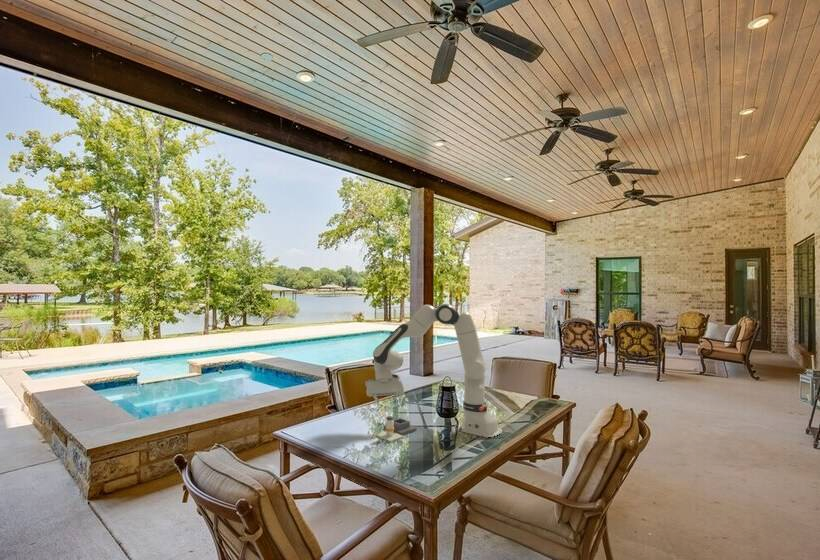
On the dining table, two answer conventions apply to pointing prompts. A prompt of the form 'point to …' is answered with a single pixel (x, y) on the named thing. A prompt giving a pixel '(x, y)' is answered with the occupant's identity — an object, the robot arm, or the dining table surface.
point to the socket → (402, 426)
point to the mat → (389, 439)
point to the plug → (389, 426)
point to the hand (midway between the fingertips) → (386, 401)
